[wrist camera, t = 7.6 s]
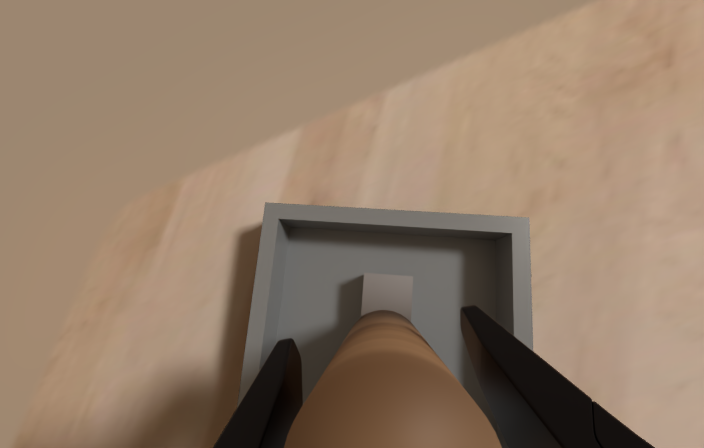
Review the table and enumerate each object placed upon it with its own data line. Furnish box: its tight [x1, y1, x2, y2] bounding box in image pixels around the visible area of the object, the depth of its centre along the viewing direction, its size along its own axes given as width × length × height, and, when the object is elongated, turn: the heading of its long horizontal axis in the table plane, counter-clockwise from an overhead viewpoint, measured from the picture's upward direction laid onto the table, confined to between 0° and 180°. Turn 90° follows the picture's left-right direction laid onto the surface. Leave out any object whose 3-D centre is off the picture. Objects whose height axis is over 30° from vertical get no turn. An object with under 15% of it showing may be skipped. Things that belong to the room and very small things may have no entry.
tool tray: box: [237, 203, 533, 448], centre depth 16 cm, size 13×13×3 cm
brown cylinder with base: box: [284, 273, 502, 448], centre depth 11 cm, size 7×4×12 cm, turn 175°
